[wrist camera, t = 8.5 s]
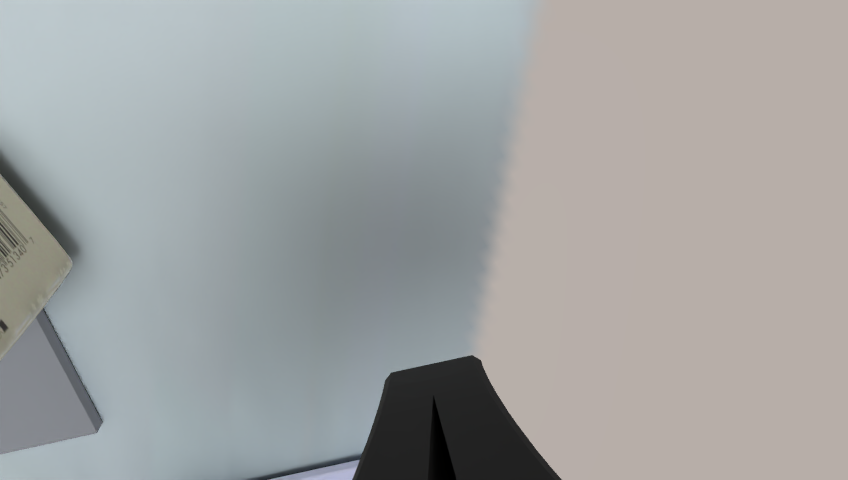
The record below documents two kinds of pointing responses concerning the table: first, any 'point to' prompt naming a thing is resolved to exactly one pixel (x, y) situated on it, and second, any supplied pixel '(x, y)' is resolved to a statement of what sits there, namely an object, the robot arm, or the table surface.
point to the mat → (41, 392)
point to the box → (25, 266)
